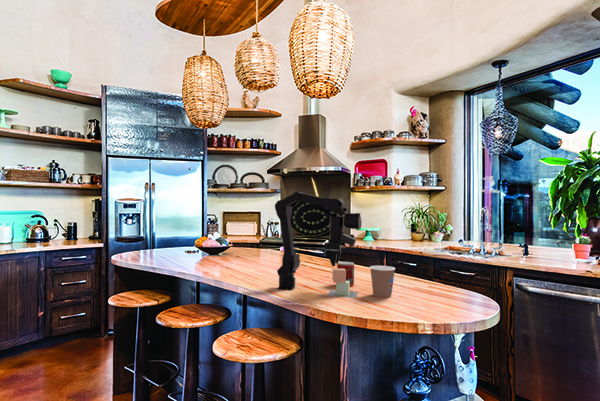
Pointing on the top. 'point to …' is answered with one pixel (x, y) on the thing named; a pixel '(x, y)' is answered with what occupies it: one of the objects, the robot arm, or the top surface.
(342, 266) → the canned food
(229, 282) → the top surface
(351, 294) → the baseplate
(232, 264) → the top surface
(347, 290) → the brick green
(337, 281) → the pinkish brown cube
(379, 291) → the coffee cup
